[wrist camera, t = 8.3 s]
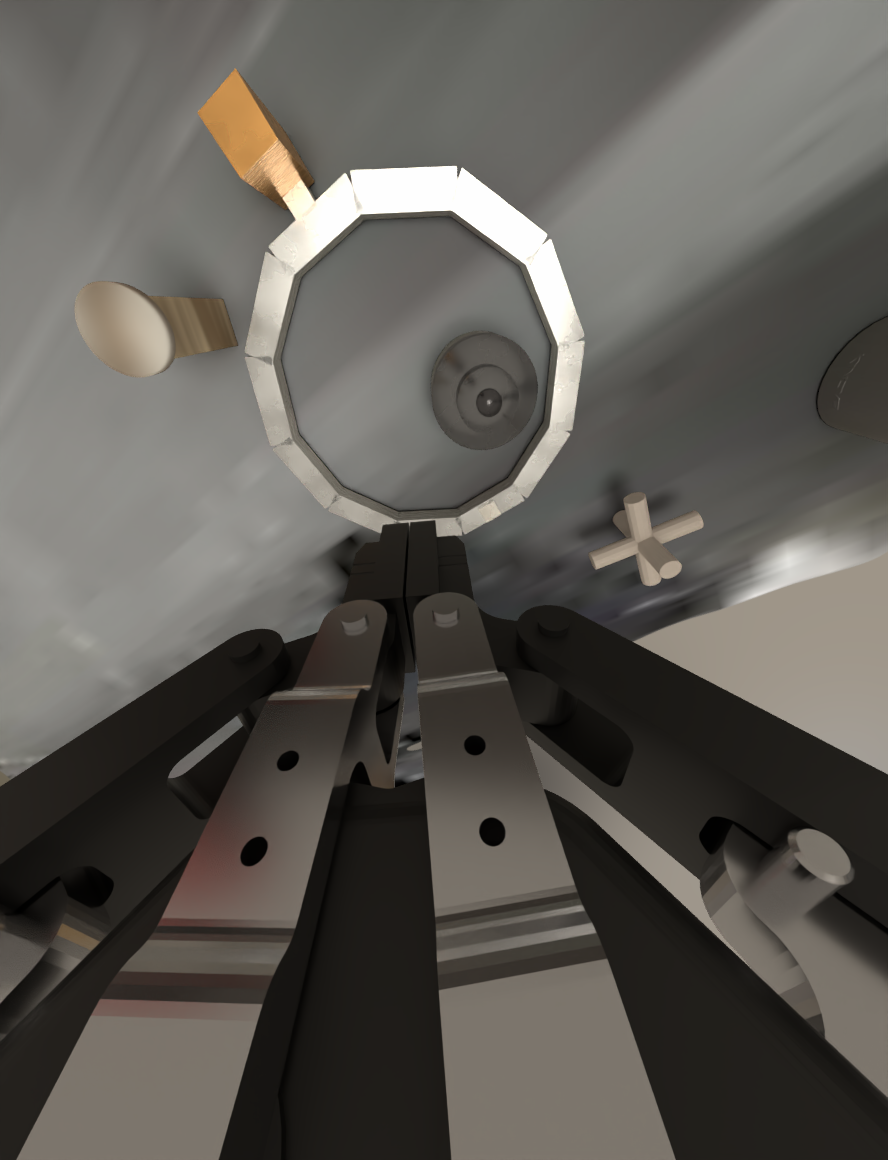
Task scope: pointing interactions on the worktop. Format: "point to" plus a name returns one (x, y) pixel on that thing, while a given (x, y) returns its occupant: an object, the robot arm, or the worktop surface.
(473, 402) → the cover
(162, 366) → the gauge stand
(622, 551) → the pipe connector
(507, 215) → the ring
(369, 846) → the robot arm
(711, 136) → the worktop surface
